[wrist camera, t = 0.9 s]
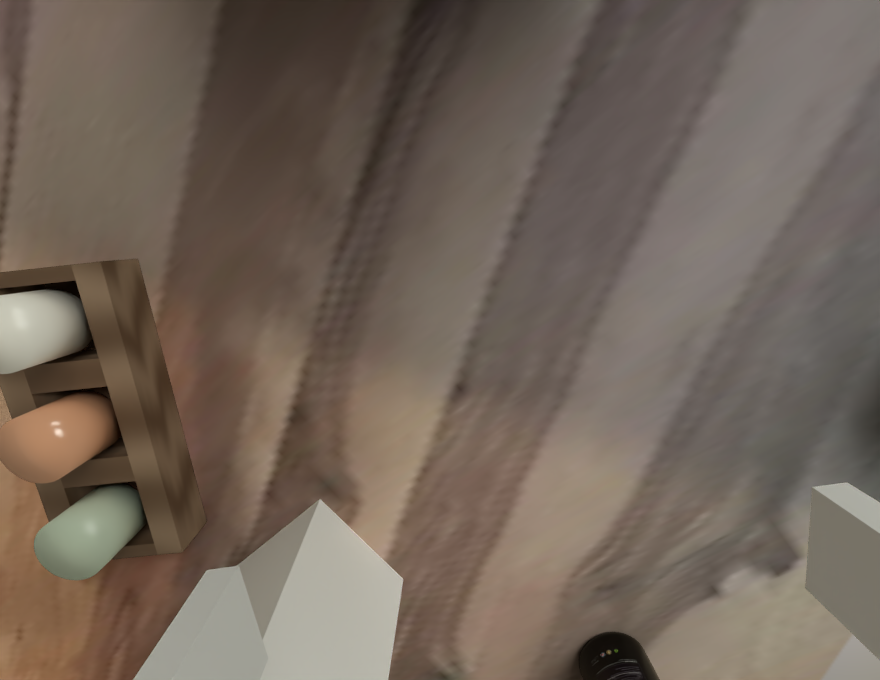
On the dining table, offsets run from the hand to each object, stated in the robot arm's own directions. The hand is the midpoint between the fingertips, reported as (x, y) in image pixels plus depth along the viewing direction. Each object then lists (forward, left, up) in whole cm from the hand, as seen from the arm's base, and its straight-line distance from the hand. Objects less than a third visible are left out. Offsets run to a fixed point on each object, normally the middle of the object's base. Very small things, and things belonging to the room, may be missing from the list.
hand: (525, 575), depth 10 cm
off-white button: (-5, -30, -24) cm, 39 cm away
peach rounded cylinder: (+3, -30, -24) cm, 38 cm away
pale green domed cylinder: (+11, -30, -24) cm, 40 cm away
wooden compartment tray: (+3, -30, -27) cm, 40 cm away
